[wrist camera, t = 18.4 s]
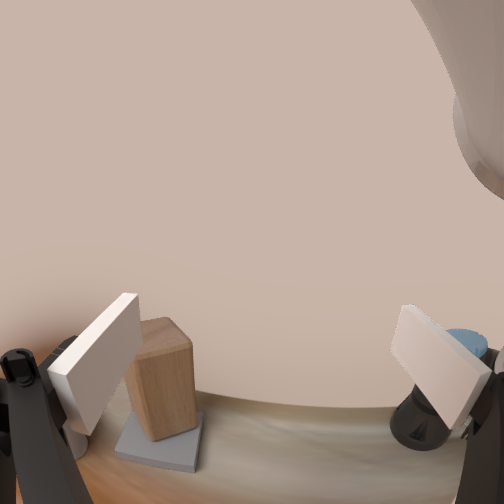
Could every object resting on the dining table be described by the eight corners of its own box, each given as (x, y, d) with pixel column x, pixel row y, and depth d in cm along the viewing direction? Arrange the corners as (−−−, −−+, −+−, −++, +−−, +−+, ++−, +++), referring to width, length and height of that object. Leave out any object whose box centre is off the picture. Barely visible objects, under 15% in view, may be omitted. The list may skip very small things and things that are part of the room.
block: (131, 410, 45) (113, 323, 41) (176, 397, 52) (168, 313, 47) (151, 445, 38) (130, 355, 33) (200, 428, 44) (195, 340, 39)
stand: (203, 419, 49) (202, 411, 49) (194, 473, 35) (193, 466, 35) (137, 409, 49) (135, 401, 48) (117, 457, 35) (114, 450, 34)
